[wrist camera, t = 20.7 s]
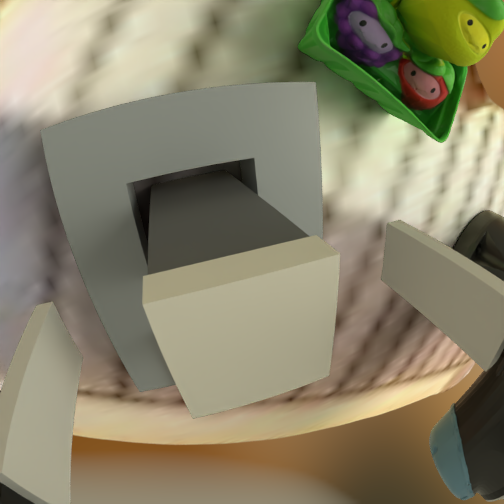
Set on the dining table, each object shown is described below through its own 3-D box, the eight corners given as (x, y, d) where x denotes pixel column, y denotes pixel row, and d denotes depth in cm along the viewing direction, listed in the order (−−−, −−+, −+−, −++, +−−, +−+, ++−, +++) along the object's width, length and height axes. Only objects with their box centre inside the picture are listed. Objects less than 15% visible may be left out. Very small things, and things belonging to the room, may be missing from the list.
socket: (291, 85, 16) (315, 81, 13) (302, 320, 24) (319, 342, 22) (58, 128, 13) (40, 130, 10) (138, 363, 21) (139, 392, 19)
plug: (226, 167, 17) (339, 253, 7) (235, 237, 19) (329, 375, 9) (149, 183, 16) (142, 304, 6) (165, 254, 18) (193, 418, 8)
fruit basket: (270, 55, 15) (409, 5, 5) (319, -33, 12) (437, -91, 3) (394, 137, 20) (523, 173, 10) (424, 54, 17) (540, 60, 8)
